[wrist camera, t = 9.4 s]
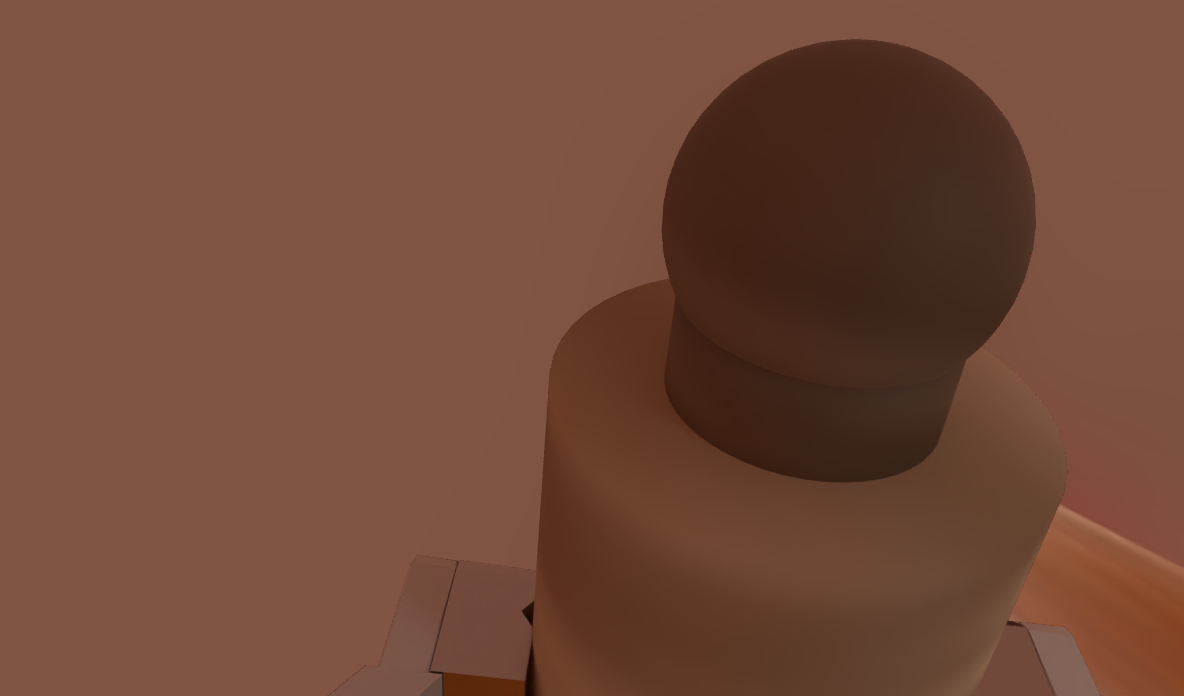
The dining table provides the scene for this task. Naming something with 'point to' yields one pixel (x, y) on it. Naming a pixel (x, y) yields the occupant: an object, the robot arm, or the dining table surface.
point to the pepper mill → (804, 404)
